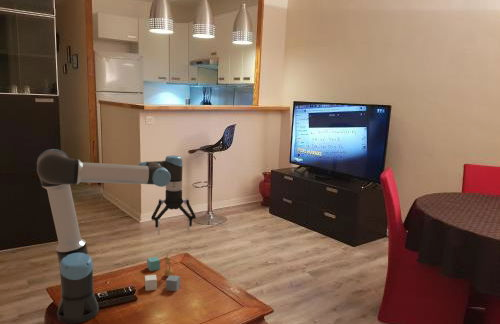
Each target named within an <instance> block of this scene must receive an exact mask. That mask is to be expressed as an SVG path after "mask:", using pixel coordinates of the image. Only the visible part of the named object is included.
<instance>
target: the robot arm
mask: <svg viewBox="0 0 500 324" xmlns="http://www.w3.org/2000/svg"><path fill="white" fill-rule="evenodd" d="M183 167H184V165H183V158H182V157H181V156H179V155H175V154H174V155H172V154H171V155H167V156H166V157H165V160H160V161H157V160H156V161H141V162H139V163H138V165H137V164H136V165H135V164H123V163H122V164H119V163H105V162H103V163H102V162H101V163H100V162H82V161H81V160H80V159H78V158H77V159H76V158H69V156H68V154H67V153H66V152H64V151H62V150H61V149H55V148H52V149H47V150H44V151H43V152H42V153H40V154H39V156H38V157H37V160H36V173H37V175H38V178H39V181H40V185H41V187H42V188H43V189H45V190H46V191H47V195H48V201H49V205H50V209H51V214H52V215H51V216H52V219H53V223H54V227H55V233H56V236H57V242H58V244H57V246H56V247H55V251H56V256H57V259H58V266H59V274H60V291H61V299H60V302H59V305H58V308H57V314H56V315H57V320H58V321H59V322H61V323H63V324H81V323H85V322H89V321H90V320H92V319H93V318H94V317H95V316H97V315H98V313H99V303H98V301H97V298H96V295H95V292H94V274H93V271H94V270H93V269H94V268H93V267H94V262H93V258H92V257H91V256H90V254H89V251H88V246H87V241H86V240H85V239H84V238H82V236H81V232H80V228H79V227H80V226H79V221H78V217H77V212H76V208H75V207H76V206H75V203H74V198H73V194H72V188H71V185H76V186H77V185H78V184H80V183H96V184H97V183H100V184H101V183H102V184H103V183H104V184H130V185H131V184H133V185H134V184H135V185H154V186H156V187H159V188H160V187H162V188H163V187H165V199H161V198H159V199H158V204H157V206H156V207H155V209H154V211H153V213H152V216H151V217H150V218H151V220H152V221H154V222H155V225H154V227H155V228H157V235H158V236H160V235H161V233H160V232H161V228H160V226H161V225H160V221H161V220H160V218H162V217H163V215H164V214H165V213H166V212H167V211H168V210H178V209H179V210H180V211H181V212H182V213H183V214H184V216H186V217H187V224H186V225H187V226H186V227H187V231H186V232H187V234H188V235H189V234H190V227H192V226H193V220H194V219H197V216H196V214H195V212H194V209H193V208H192V206H191V204H190V200H189V198H185V199H183ZM163 204H164V205H165V207H163V209H162V210H161V211H160V208H161V207H162V205H163ZM182 204H185V205H186V206H187V208H188V211H189V212H188V211H187V210H186V209H185V208H184V206H183V205H182ZM159 211H160V212H159ZM158 212H159V213H158ZM157 214H158V215H157Z"/></svg>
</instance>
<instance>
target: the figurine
mask: <svg viewBox="0 0 500 324" xmlns="http://www.w3.org/2000/svg"><path fill="white" fill-rule="evenodd" d="M164 260H165V261H164ZM171 260H172V261H173V262H174V263H176V264H177V261H176V260H175V259H174V258H172V257H170V255H169V254H167V255H166V256H165V257H164V258H161V259H160V262H159V264H160V265H161V262H162V261H164V265H165V268H166V269H164V272H163V273H164V275H165V276H166V277H167V278H168V277H169V275H173V272H174V271H173V269H172V268H171V265H172V263H171ZM168 265H169V266H168Z"/></svg>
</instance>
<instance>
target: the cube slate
mask: <svg viewBox="0 0 500 324" xmlns="http://www.w3.org/2000/svg"><path fill="white" fill-rule="evenodd" d="M180 287H181V276H180V275H173V274H172V275H169V277H167V278H166V280H165V291H172V292H178V289H179V288H180Z"/></svg>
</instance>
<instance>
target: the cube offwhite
mask: <svg viewBox="0 0 500 324" xmlns="http://www.w3.org/2000/svg"><path fill="white" fill-rule="evenodd" d="M157 281H158V278H157V274H148V275H147V274H146V275H144V287H145V292H146V291H147V292H148V291H157V290H158V282H157Z"/></svg>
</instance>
